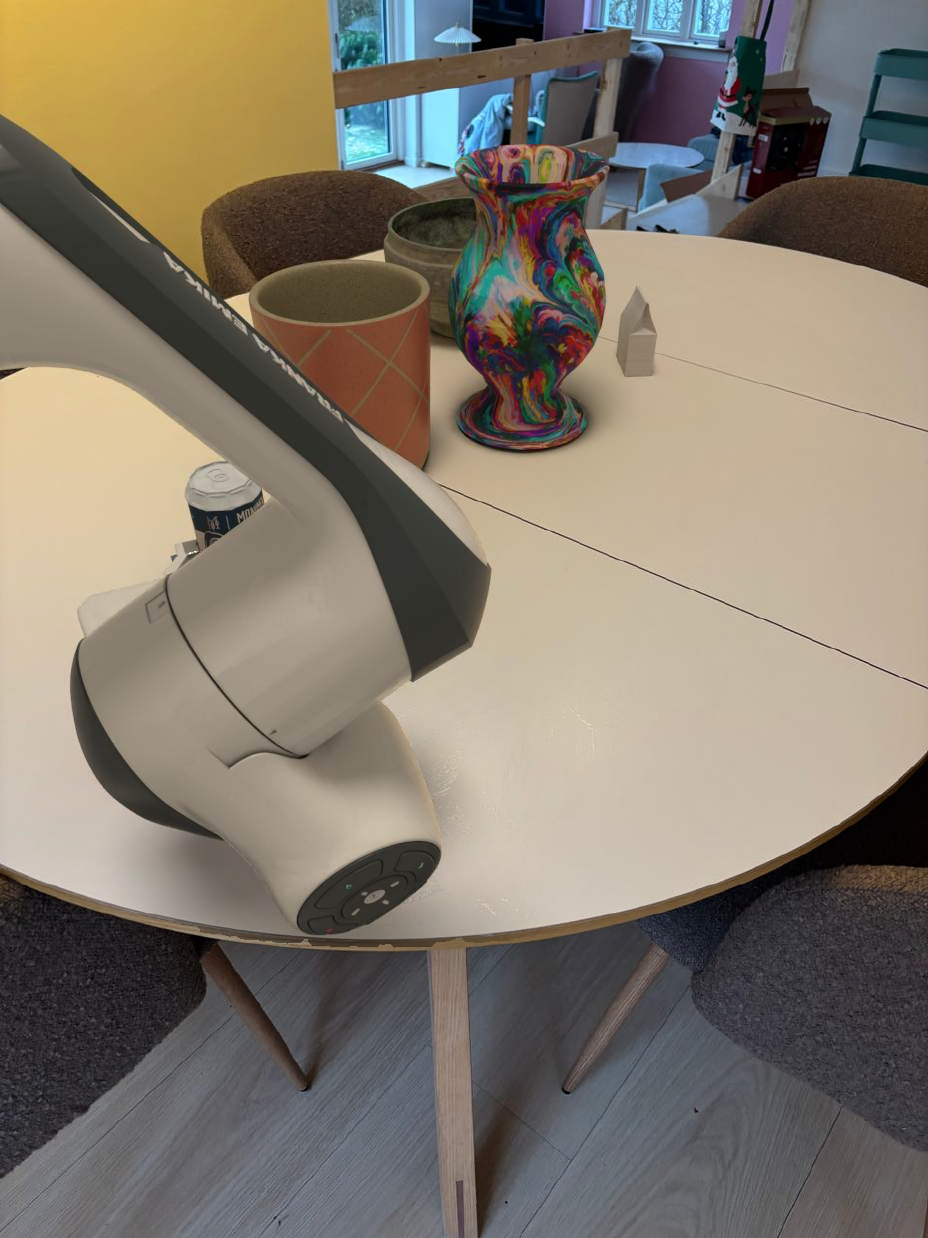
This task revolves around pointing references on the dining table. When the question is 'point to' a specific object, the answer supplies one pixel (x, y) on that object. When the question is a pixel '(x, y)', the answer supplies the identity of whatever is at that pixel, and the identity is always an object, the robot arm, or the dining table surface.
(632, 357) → the gable top carton
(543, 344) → the vase
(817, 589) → the dining table surface
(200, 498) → the beer can
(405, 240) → the bowl
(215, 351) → the robot arm
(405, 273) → the planter
